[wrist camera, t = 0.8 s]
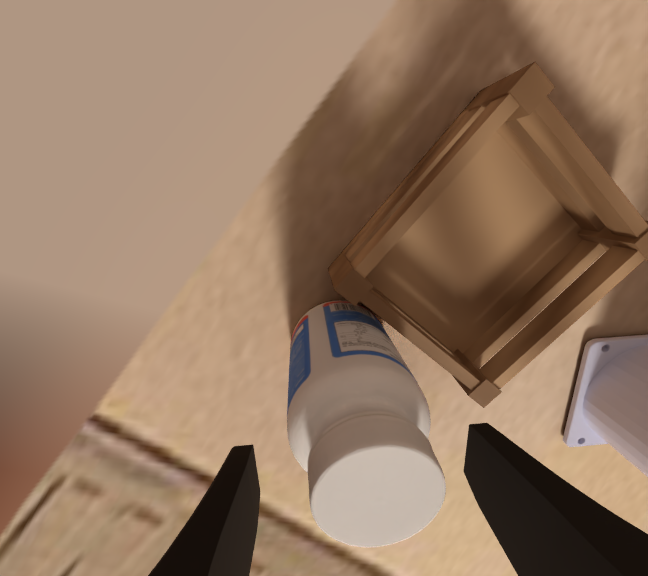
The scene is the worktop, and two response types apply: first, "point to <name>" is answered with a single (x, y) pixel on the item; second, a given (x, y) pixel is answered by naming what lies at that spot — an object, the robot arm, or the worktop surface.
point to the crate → (495, 238)
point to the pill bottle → (360, 429)
